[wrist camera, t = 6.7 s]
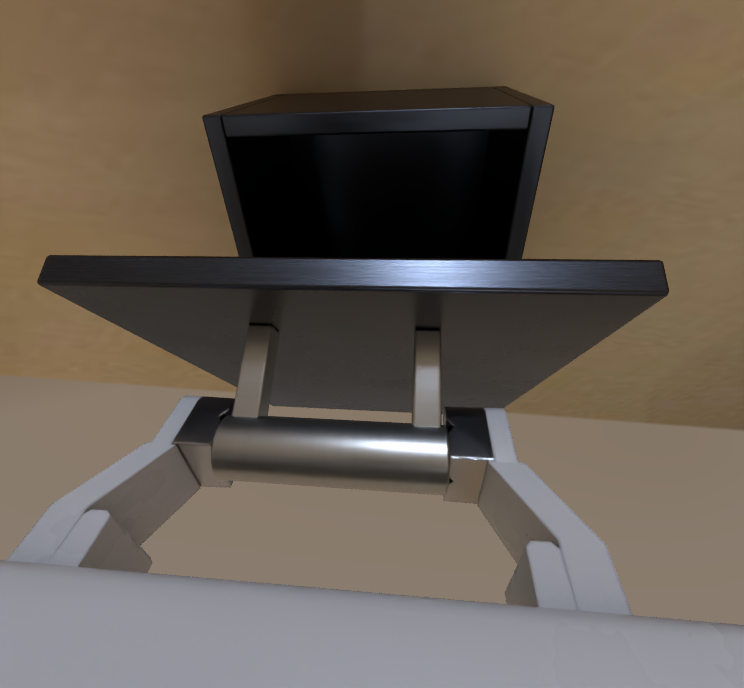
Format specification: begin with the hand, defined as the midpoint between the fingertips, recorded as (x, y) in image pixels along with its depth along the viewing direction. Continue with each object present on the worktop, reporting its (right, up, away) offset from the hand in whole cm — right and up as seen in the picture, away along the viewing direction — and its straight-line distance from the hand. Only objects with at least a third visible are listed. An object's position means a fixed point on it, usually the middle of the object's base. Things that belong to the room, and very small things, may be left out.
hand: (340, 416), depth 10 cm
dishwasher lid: (+1, +1, +6) cm, 6 cm away
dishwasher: (+2, +11, +16) cm, 20 cm away
